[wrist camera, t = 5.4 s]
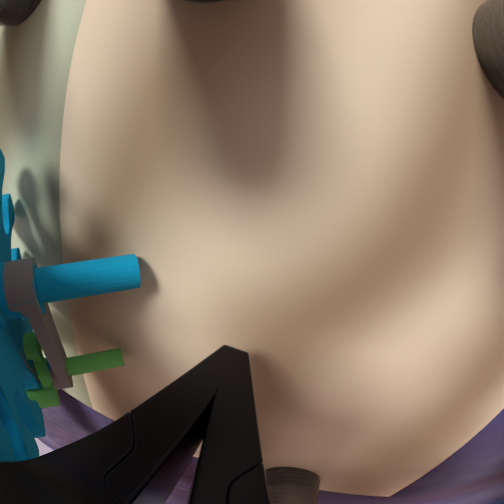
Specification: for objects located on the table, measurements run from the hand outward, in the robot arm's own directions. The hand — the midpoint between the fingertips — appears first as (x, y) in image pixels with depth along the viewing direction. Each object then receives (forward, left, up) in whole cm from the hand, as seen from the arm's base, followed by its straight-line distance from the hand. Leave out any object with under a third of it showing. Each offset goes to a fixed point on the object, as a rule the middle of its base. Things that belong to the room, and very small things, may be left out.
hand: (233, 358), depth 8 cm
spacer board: (+3, -1, -2) cm, 4 cm away
